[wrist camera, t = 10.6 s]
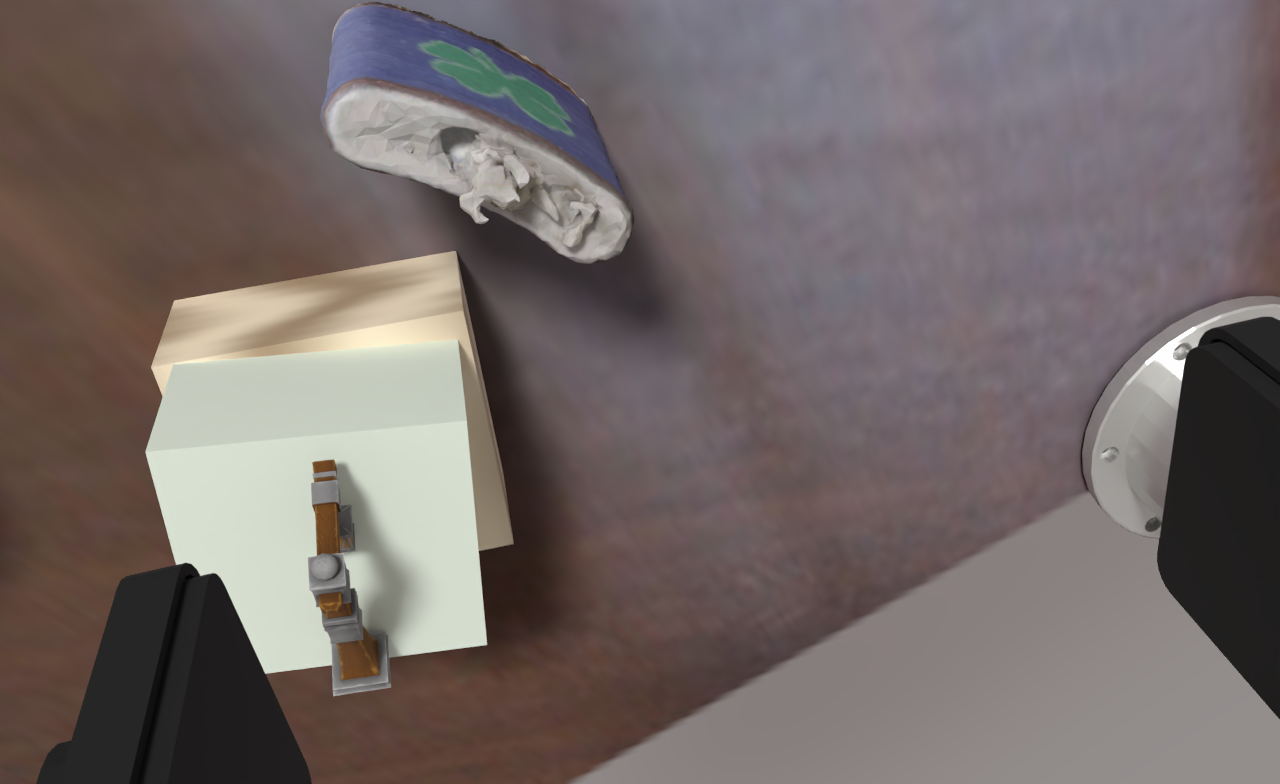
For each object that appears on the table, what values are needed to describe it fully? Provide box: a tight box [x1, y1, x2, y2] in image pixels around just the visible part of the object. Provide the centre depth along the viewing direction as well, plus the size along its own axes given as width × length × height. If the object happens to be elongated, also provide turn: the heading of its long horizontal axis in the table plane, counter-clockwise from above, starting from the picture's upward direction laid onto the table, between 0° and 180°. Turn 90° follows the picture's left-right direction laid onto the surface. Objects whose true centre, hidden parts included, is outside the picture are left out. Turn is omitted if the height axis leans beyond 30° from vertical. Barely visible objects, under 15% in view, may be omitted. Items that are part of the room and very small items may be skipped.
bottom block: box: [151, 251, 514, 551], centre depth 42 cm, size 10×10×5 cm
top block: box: [146, 340, 487, 674], centre depth 37 cm, size 9×9×5 cm
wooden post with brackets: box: [308, 459, 391, 696], centre depth 34 cm, size 2×8×4 cm, turn 0°
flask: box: [320, 2, 634, 264], centre depth 34 cm, size 9×3×11 cm, turn 61°
